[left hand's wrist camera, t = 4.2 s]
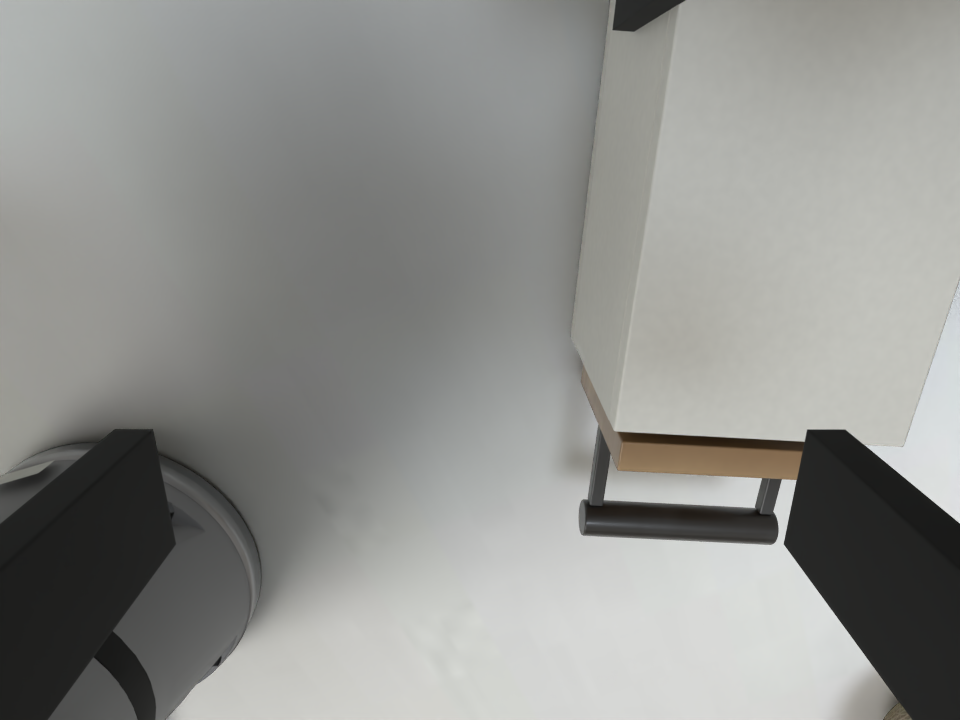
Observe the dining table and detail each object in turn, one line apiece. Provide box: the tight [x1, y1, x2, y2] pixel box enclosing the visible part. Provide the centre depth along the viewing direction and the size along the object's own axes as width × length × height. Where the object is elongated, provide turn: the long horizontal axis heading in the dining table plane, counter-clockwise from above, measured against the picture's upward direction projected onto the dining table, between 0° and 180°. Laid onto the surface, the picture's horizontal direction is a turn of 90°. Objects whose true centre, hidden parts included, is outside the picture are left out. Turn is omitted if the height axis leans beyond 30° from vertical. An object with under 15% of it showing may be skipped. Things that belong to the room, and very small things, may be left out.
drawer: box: [579, 365, 804, 545], centre depth 25 cm, size 22×9×8 cm, turn 176°
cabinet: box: [570, 0, 960, 447], centre depth 23 cm, size 18×10×10 cm, turn 176°
